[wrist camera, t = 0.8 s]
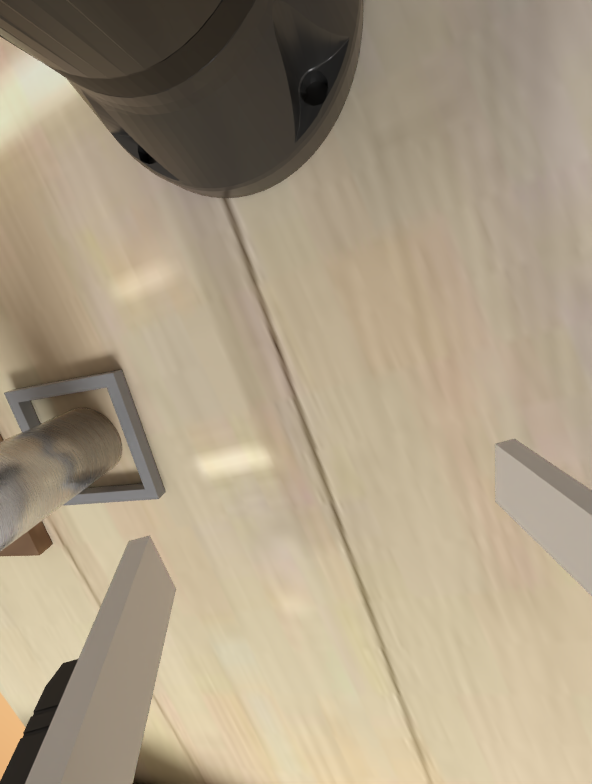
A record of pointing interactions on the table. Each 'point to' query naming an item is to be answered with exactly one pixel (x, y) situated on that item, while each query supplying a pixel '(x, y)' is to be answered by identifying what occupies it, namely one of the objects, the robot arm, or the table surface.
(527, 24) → the table surface
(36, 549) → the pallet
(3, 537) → the billet
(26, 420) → the frame
